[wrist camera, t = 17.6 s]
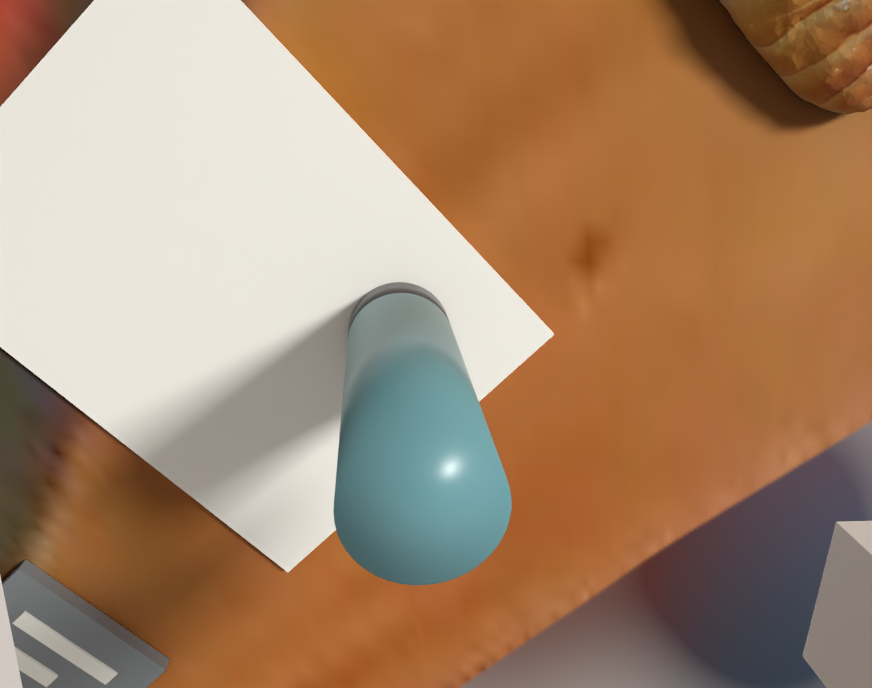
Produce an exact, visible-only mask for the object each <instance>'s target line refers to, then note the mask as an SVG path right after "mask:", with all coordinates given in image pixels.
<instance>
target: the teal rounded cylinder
mask: <svg viewBox="0 0 872 688" xmlns="http://www.w3.org/2000/svg"><path fill="white" fill-rule="evenodd" d="M333 513H334V523H335V527H336V531H337V534H338V536H339V538H340V541H341V543H342V544H343V546H344V548H345V549H346V551H347V552H348V553H349V555H350V556H351V557H352V558H353V559H354V560H355V561H356V562H357V563H358V564H359V565H360V566H362V567H363V568H364V569H366V570H367V571H369V572H370V573H372V574H374V575H376V576H378V577H380V578H383V579H386V580H388V581H392V582H396V583H400V584H408V585H429V584H436V583H441V582H445V581H448V580H451V579H454V578H457V577H459V576H461V575H463V574H465V573H467V572H469V571H471V570H472V569H474V568H475V567H477V566H478V565H479V564H481V563H482V562H483V561H484V560H485V559H486V558H487V557H488V556H489V555H490V554H491V553H492V552H493V551H494V549H495V548H496V547H497V546H498V544H499V542H500V541H501V539H502V538H503V536H504V533H505V531H506V529H507V526H508V522H509V519H510V513H511V493H510V487H509V484H508V481H507V478H506V475H505V472H504V470H503V467H502V464H501V461H500V459H499V456H498V453H497V450H496V448H495V445H494V442H493V440H492V437H491V434H490V431H489V429H488V426H487V423H486V420H485V418H484V415H483V412H482V409H481V407H480V404H479V401H478V399H477V396H476V393H475V390H474V388H473V385H472V382H471V379H470V377H469V374H468V371H467V369H466V366H465V363H464V360H463V358H462V355H461V352H460V349H459V347H458V344H457V341H456V338H455V336H454V333H453V330H452V328H451V325H450V322H449V319H448V317H447V314H446V312H445V309H444V307H443V306H442V304H441V303H440V301H439V300H438V299H437V298H436V297H435V296H434V295H433V294H432V293H431V292H429V291H428V290H426V289H424V288H422V287H420V286H418V285H415V284H411V283H406V282H393V283H388V284H384V285H381V286H378V287H376V288H374V289H373V290H371V291H370V292H368V293H367V294H366V295H364V296H363V297H362V298H361V300H360V301H359V302H358V303H357V305H356V306H355V308H354V310H353V312H352V314H351V317H350V321H349V328H348V340H347V352H346V364H345V376H344V388H343V400H342V412H341V424H340V436H339V448H338V460H337V472H336V484H335V496H334V511H333Z"/></svg>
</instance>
